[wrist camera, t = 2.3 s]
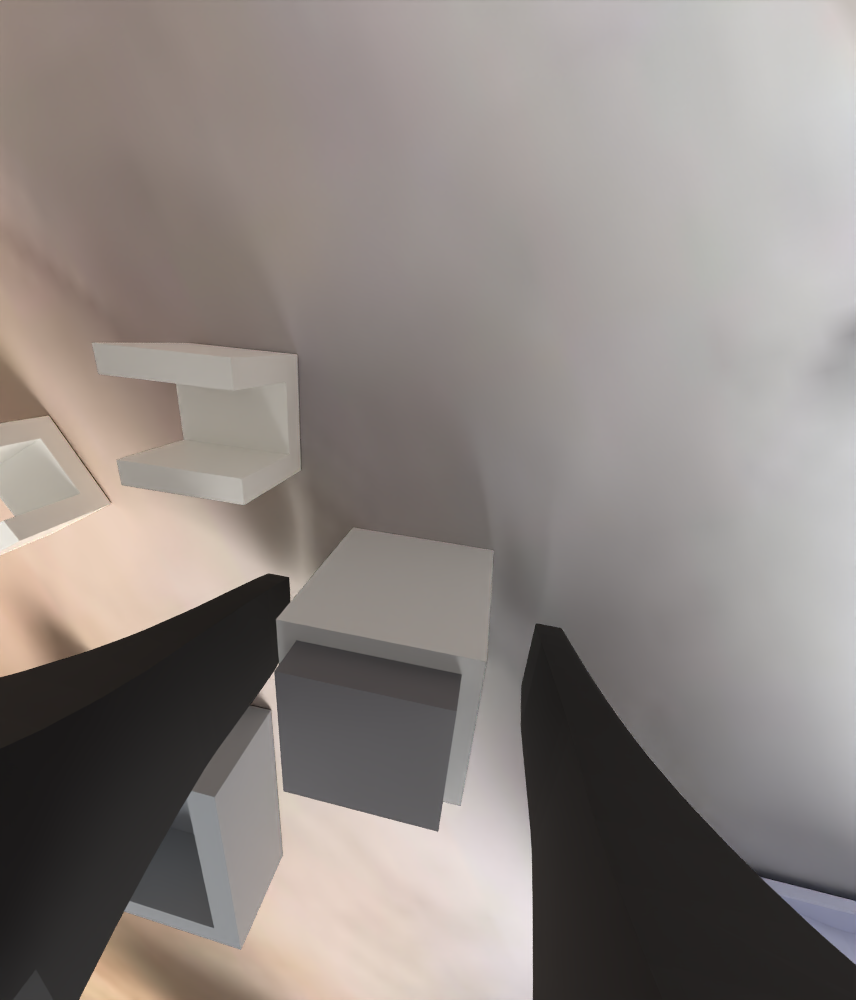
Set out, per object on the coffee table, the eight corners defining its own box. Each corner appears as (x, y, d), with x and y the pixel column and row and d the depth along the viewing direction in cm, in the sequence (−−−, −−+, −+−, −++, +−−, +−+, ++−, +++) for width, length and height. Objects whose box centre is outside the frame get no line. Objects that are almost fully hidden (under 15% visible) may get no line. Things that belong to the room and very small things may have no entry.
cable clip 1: (48, 415, 12) (-66, 433, 10) (111, 503, 13) (19, 540, 10) (-9, 453, 13) (-126, 477, 10) (53, 533, 14) (-43, 573, 11)
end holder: (270, 710, 15) (214, 797, 12) (282, 855, 18) (241, 949, 15) (83, 665, 16) (-10, 736, 13) (127, 810, 19) (61, 891, 16)
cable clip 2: (297, 354, 10) (230, 357, 8) (301, 470, 11) (244, 505, 9) (187, 342, 10) (92, 342, 8) (202, 456, 11) (121, 484, 9)
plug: (493, 549, 11) (484, 698, 6) (474, 662, 12) (456, 849, 8) (353, 526, 11) (251, 648, 7) (351, 637, 13) (267, 798, 8)
